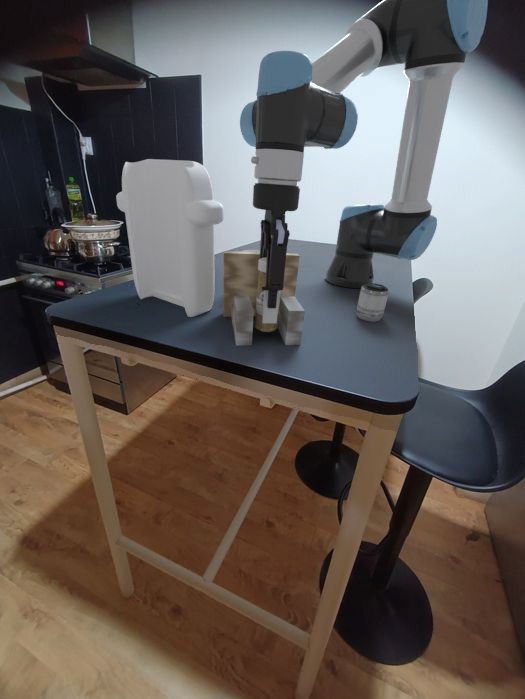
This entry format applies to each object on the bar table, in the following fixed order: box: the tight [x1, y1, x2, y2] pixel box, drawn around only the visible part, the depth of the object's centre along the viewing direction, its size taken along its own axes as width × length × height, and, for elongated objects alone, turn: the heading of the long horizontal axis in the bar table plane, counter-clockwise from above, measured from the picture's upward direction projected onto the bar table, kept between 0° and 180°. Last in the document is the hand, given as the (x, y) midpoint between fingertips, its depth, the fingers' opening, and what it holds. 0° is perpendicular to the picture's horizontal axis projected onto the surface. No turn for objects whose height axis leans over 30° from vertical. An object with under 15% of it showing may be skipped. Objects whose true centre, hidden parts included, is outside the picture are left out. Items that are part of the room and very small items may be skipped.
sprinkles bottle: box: [254, 257, 280, 333], centre depth 60 cm, size 5×5×14 cm
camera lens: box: [356, 282, 390, 323], centre depth 75 cm, size 6×6×8 cm
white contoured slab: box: [115, 158, 225, 318], centre depth 70 cm, size 27×11×30 cm, turn 56°
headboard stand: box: [222, 250, 306, 347], centre depth 64 cm, size 16×16×14 cm
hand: (267, 316), depth 62 cm, fingers open, 4 cm apart
